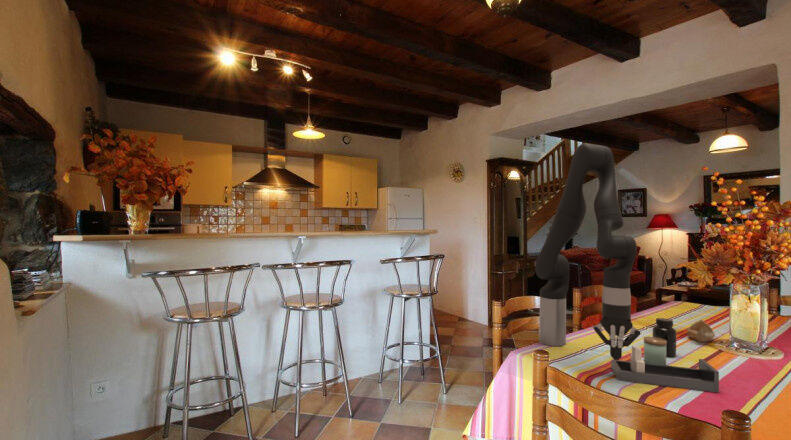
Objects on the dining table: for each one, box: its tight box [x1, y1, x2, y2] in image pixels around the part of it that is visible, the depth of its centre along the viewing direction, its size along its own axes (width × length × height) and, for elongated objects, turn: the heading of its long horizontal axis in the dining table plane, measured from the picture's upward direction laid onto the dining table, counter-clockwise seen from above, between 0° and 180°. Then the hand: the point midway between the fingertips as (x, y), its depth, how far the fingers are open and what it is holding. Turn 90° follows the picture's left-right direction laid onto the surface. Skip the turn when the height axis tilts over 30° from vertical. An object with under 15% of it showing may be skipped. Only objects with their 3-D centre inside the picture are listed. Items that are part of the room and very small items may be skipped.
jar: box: [643, 336, 667, 365], centre depth 125 cm, size 6×6×8 cm
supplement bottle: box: [652, 317, 677, 358], centre depth 134 cm, size 7×7×12 cm
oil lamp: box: [686, 319, 716, 343], centre depth 151 cm, size 9×21×10 cm, turn 143°
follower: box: [629, 345, 645, 373], centre depth 115 cm, size 2×7×8 cm, turn 161°
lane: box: [610, 358, 720, 393], centre depth 113 cm, size 24×10×6 cm, turn 71°
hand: (615, 358), depth 117 cm, fingers closed
